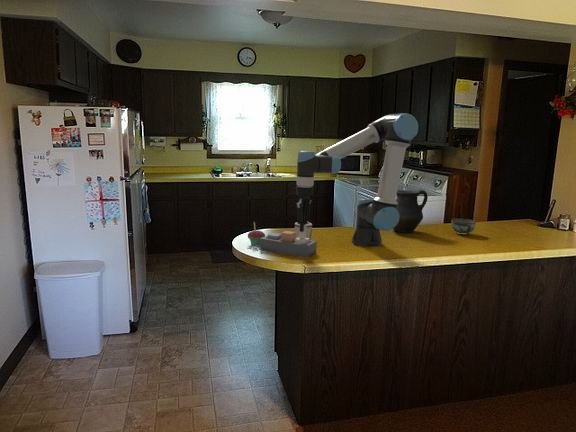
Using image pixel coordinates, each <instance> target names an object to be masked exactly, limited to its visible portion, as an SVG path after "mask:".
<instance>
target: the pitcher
mask: <svg viewBox="0 0 576 432" xmlns="http://www.w3.org/2000/svg"><path fill="white" fill-rule="evenodd" d="M419 195H423V200H422V203H421V204H419V203H418V202H419V201H418V196H419ZM395 200H396V202H397V203H398V205H397V211H398V213H399V222H398V224H397V225H396V226H395V227H394V228H393V229H392V230H393V231H395V232H400V233H410V234H412V233H413V232H414V231H416V229H417V227H418V226H419V225H420V224H421V222H422V221H423V219H424V215H423V214H424V213H423V209H424V208H425V206H426V205H427V202H428V192H426V191H425V190H423V189H417V190H412V189H411V190H408V189H407V190H401V189H399V190H398V189H397V194H396V198H395Z"/></svg>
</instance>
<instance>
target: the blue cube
mask: <svg viewBox="0 0 576 432" xmlns="http://www.w3.org/2000/svg"><path fill="white" fill-rule="evenodd" d="M267 236H268V239H273V240H279V239H281V233H275V232H272V233H269V234H267Z"/></svg>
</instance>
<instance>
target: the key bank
mask: <svg viewBox="0 0 576 432" xmlns="http://www.w3.org/2000/svg"><path fill="white" fill-rule="evenodd" d="M317 243H318V241H317V240H312V239H311V240H310V243H309V244H307V245H305V244H299V243H295V241H293V242H286V241H281V239H279V240H273V239H268V235H265V237H263V238H260V246H259V251H263V252H270V253H276V254H282V255H287V256H294V257H298V258H299V257H300V258H306V259H309V258H310V257H311V256H313V255H315V254H317Z"/></svg>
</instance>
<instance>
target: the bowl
mask: <svg viewBox="0 0 576 432" xmlns="http://www.w3.org/2000/svg"><path fill="white" fill-rule="evenodd" d="M476 223H477V221H476V220H473V219H468V218H460V217H459V218H458V217H457V218H456V217H455V218H452V219H451V227H452V229H453V230H454V231H455V232H456V233H457V232H459V233H468V234H470V233H472V232H473V231H474V229H475V227H476Z"/></svg>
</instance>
